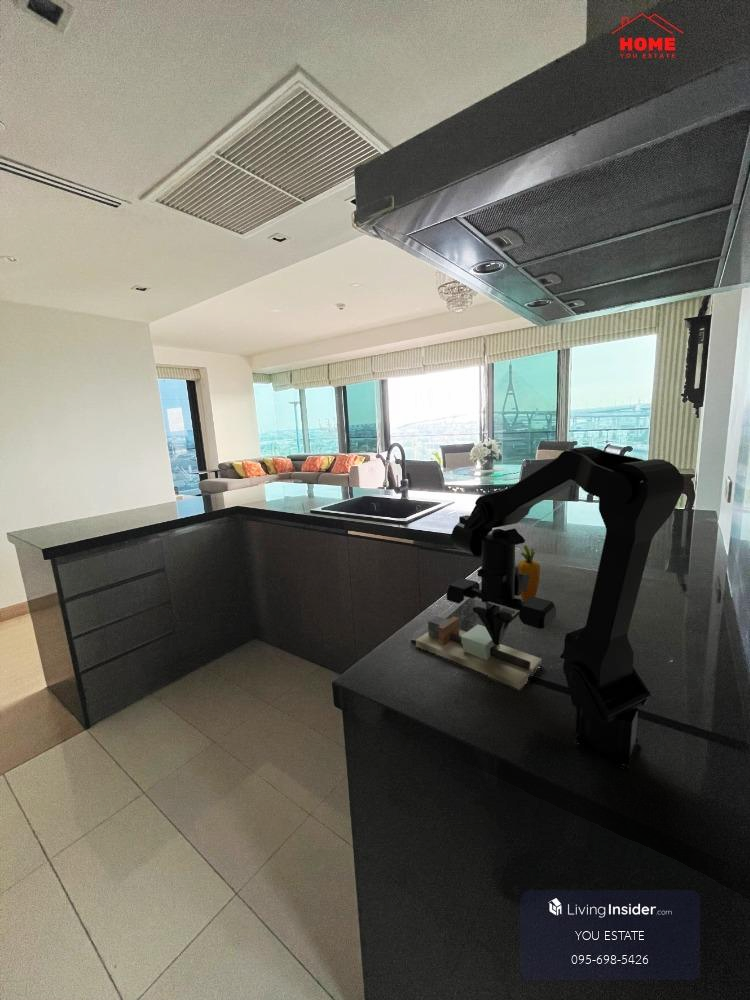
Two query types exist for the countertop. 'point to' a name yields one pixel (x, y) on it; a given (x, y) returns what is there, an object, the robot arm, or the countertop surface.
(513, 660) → the board
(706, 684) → the countertop surface
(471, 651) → the pale green slider block
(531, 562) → the carrot
